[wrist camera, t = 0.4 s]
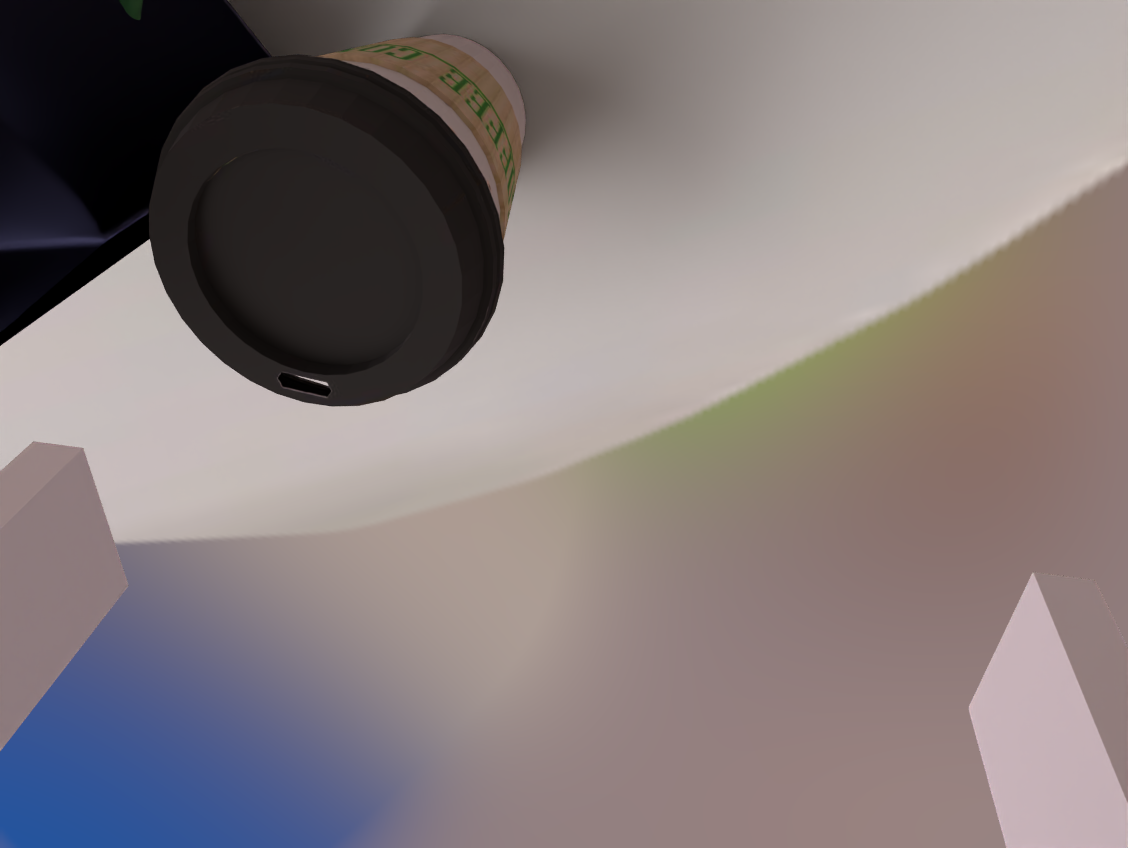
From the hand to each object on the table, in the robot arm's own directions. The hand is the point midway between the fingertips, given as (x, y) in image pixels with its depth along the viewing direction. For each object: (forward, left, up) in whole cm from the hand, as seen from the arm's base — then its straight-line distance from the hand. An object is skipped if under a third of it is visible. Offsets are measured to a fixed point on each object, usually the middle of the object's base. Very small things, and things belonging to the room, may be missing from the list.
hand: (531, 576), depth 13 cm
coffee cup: (+1, -8, -26) cm, 28 cm away
